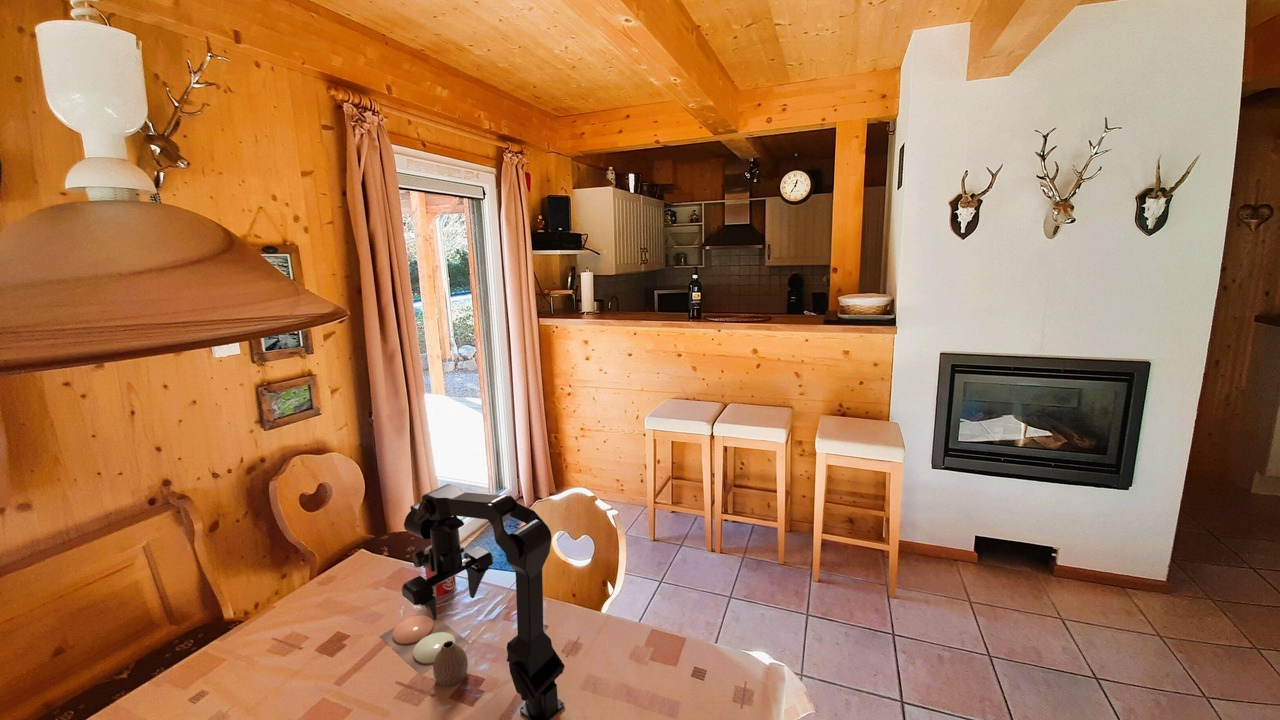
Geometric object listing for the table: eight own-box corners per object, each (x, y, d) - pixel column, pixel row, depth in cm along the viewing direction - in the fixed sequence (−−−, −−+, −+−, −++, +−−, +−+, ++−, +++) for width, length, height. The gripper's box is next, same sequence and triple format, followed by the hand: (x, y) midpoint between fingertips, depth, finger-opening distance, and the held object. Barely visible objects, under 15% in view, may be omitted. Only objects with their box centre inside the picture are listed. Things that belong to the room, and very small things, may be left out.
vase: (427, 689, 110) (423, 653, 108) (448, 664, 116) (444, 630, 114) (455, 696, 108) (451, 659, 106) (475, 671, 114) (472, 636, 112)
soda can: (447, 601, 137) (442, 557, 134) (422, 598, 138) (417, 554, 136) (461, 585, 144) (457, 542, 141) (437, 582, 145) (433, 540, 142)
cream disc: (463, 645, 120) (463, 643, 120) (426, 670, 113) (426, 667, 113) (442, 629, 126) (441, 626, 125) (405, 651, 119) (405, 649, 119)
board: (469, 646, 121) (469, 642, 121) (421, 679, 112) (420, 675, 112) (426, 612, 133) (426, 609, 133) (379, 639, 124) (379, 636, 124)
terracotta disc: (440, 627, 126) (440, 625, 126) (404, 650, 119) (404, 647, 119) (421, 612, 131) (421, 610, 131) (385, 632, 125) (385, 630, 124)
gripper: (464, 515, 124) (470, 574, 127) (385, 550, 110) (394, 616, 113) (491, 529, 117) (497, 592, 120) (410, 569, 103) (420, 638, 106)
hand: (453, 608), depth 115 cm, fingers open, 9 cm apart
